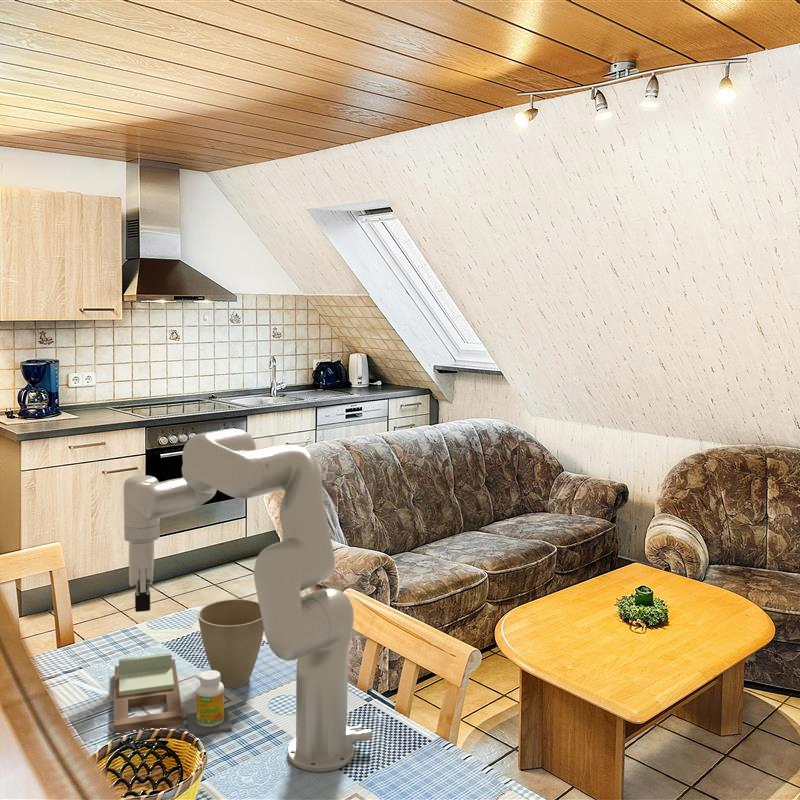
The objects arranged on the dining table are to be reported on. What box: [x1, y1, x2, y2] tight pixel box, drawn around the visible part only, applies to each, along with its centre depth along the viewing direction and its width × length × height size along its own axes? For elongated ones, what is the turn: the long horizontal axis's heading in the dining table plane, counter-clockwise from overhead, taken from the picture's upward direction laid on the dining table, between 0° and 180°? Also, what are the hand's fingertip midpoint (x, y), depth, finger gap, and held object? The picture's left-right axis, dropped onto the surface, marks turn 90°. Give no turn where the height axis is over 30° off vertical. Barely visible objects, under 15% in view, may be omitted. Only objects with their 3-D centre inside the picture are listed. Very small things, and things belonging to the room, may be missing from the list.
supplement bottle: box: [195, 669, 225, 727], centre depth 158 cm, size 5×5×10 cm
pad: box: [186, 707, 233, 737], centre depth 159 cm, size 8×8×1 cm
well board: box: [113, 658, 184, 735], centre depth 168 cm, size 13×26×2 cm, turn 19°
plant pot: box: [197, 598, 265, 688], centre depth 176 cm, size 15×15×16 cm
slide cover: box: [118, 652, 174, 696], centre depth 171 cm, size 11×9×4 cm
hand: (142, 609), depth 179 cm, fingers closed
